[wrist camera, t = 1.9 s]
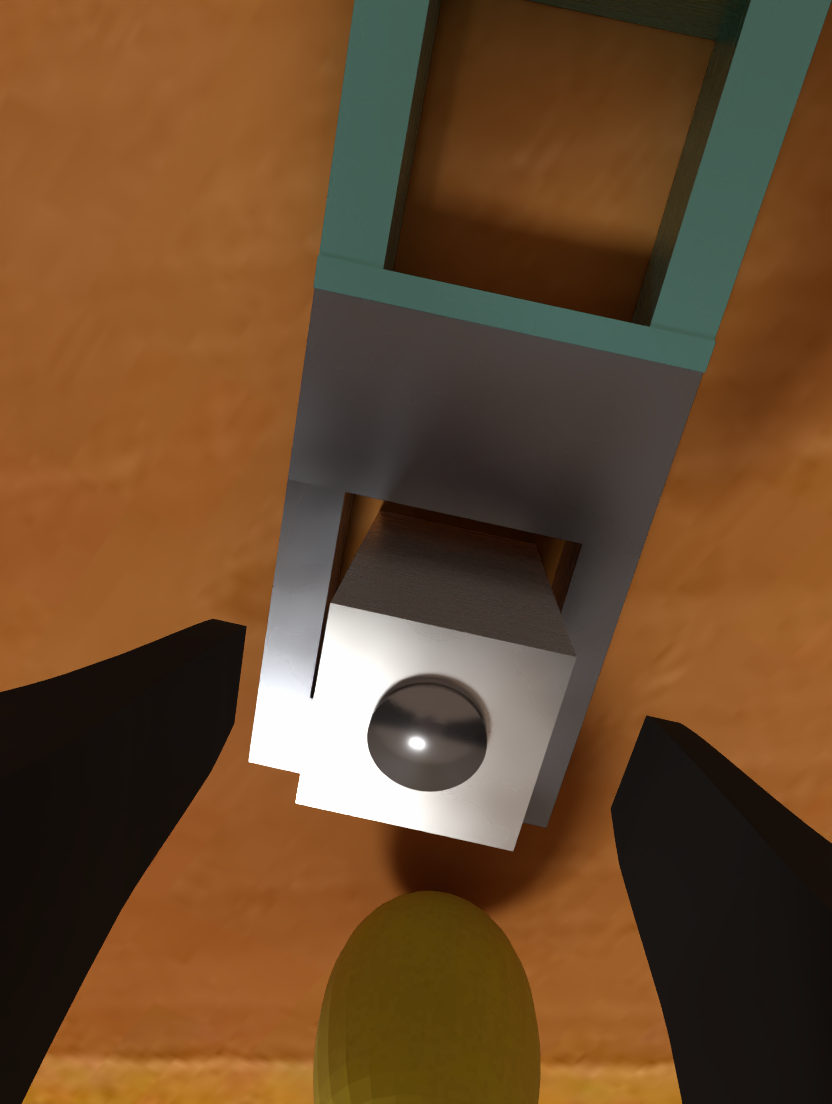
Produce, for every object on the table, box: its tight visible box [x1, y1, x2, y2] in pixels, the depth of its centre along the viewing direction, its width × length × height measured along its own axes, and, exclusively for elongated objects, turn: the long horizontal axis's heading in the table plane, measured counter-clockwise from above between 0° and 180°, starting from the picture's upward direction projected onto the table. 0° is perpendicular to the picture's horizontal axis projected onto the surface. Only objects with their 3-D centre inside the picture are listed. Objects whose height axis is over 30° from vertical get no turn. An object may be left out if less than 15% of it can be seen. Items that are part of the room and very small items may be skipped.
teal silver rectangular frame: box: [249, 0, 831, 828], centre depth 14 cm, size 8×20×2 cm, turn 168°
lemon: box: [313, 891, 540, 1104], centre depth 15 cm, size 6×6×8 cm
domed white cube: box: [296, 510, 577, 851], centre depth 13 cm, size 4×4×6 cm
